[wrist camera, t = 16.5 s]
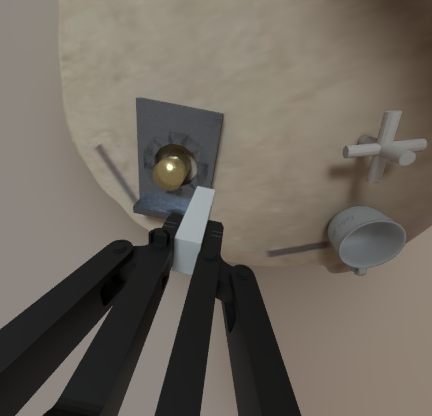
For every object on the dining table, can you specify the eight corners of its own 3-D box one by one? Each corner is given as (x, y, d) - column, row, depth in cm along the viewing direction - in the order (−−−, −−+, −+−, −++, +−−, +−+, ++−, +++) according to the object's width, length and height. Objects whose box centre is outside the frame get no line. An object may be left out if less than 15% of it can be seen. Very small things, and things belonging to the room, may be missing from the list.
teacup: (331, 196, 39) (351, 219, 32) (390, 200, 38) (423, 224, 32) (312, 250, 46) (325, 278, 39) (361, 254, 46) (383, 283, 39)
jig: (141, 97, 33) (127, 98, 29) (223, 113, 33) (221, 117, 29) (143, 200, 44) (133, 212, 39) (206, 212, 44) (203, 226, 39)
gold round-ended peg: (166, 147, 37) (152, 158, 31) (192, 152, 37) (184, 165, 31) (165, 172, 40) (152, 187, 34) (190, 177, 40) (181, 193, 34)
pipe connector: (327, 171, 37) (355, 197, 28) (337, 112, 32) (374, 120, 23) (388, 167, 35) (436, 191, 27) (408, 103, 30) (475, 109, 22)
